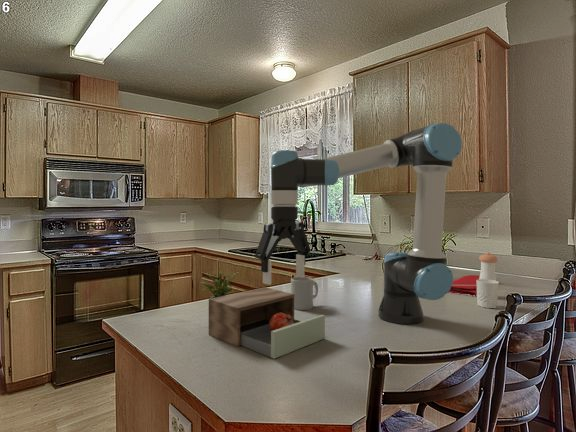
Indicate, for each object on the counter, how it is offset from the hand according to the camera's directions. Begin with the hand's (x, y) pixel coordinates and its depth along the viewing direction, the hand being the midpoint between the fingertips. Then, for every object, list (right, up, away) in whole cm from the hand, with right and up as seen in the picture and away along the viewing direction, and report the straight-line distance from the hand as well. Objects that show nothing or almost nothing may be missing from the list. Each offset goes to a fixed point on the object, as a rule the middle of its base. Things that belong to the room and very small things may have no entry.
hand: (284, 280), depth 110 cm
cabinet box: (-10, -17, +10) cm, 22 cm away
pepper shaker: (+87, -17, +57) cm, 105 cm away
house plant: (-22, -17, +27) cm, 39 cm away
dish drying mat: (+90, -17, +77) cm, 119 cm away
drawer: (-1, -18, +1) cm, 18 cm away
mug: (+8, -17, +39) cm, 43 cm away
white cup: (+79, -17, +41) cm, 91 cm away
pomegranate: (-1, -17, +1) cm, 17 cm away
